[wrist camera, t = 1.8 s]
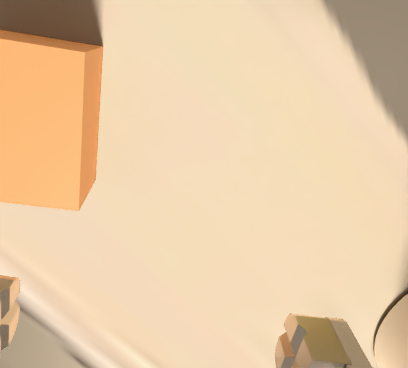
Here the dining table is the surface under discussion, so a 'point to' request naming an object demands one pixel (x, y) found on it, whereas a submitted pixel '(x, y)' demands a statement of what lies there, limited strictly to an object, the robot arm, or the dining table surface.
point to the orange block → (48, 120)
